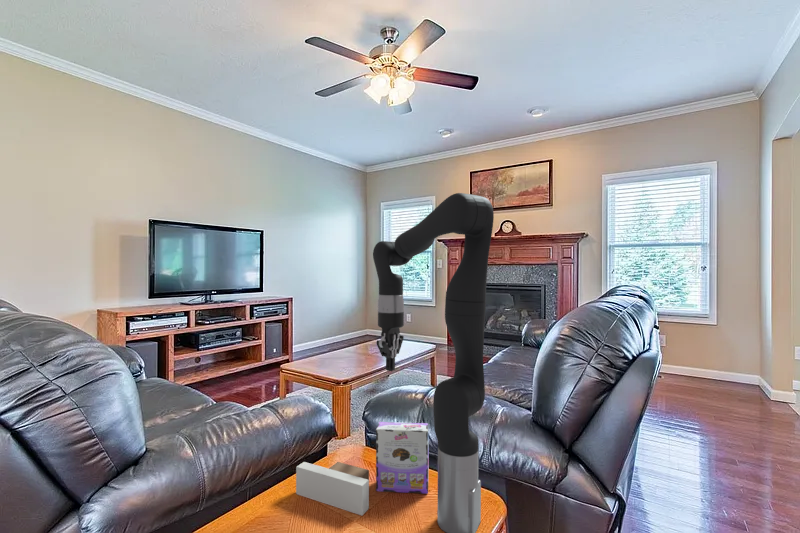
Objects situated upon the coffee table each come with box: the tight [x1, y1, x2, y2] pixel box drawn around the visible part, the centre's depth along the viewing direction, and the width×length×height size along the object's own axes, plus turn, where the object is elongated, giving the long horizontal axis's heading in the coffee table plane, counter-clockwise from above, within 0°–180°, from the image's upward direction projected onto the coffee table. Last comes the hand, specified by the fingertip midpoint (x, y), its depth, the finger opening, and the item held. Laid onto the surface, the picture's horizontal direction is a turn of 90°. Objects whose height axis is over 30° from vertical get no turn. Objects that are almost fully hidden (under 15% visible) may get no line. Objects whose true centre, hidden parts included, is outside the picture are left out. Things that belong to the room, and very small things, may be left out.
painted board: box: [295, 461, 370, 516], centre depth 100 cm, size 20×3×7 cm, turn 64°
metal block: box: [328, 461, 370, 481], centre depth 105 cm, size 10×8×5 cm
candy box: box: [375, 421, 430, 494], centre depth 106 cm, size 14×6×16 cm, turn 84°
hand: (390, 370), depth 115 cm, fingers closed
